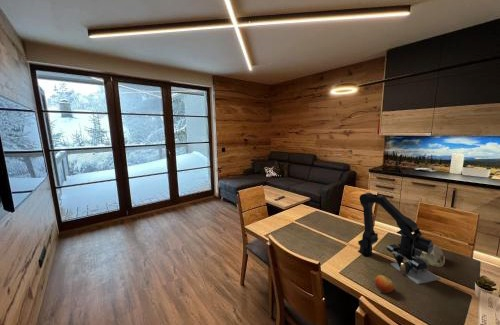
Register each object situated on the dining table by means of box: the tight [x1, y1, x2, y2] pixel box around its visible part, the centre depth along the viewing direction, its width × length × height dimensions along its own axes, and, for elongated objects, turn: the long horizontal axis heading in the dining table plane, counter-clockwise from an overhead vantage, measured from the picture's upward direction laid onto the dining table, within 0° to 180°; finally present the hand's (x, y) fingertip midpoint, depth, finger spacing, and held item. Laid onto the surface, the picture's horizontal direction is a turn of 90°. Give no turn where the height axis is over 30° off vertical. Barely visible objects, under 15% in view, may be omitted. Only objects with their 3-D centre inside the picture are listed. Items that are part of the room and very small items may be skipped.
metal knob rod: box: [399, 260, 430, 275], centre depth 115 cm, size 18×4×5 cm, turn 103°
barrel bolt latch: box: [390, 255, 441, 285], centre depth 115 cm, size 14×16×8 cm
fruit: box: [374, 274, 395, 294], centre depth 103 cm, size 8×8×8 cm
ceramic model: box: [420, 244, 446, 268], centre depth 125 cm, size 14×11×10 cm
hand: (403, 270), depth 114 cm, fingers closed on metal knob rod, 4 cm apart
